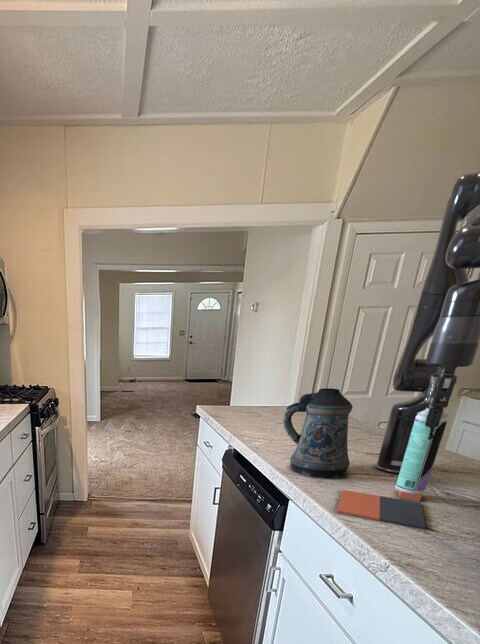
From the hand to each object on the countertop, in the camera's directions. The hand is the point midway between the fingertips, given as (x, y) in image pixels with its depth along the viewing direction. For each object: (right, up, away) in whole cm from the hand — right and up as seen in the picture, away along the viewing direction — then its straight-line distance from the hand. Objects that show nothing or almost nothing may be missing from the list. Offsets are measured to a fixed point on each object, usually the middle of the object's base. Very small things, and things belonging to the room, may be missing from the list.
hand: (429, 423), depth 87 cm
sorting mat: (-2, -19, +12) cm, 23 cm away
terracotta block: (+10, -16, +19) cm, 27 cm away
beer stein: (-4, -8, +40) cm, 41 cm away
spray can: (0, -14, +6) cm, 16 cm away
